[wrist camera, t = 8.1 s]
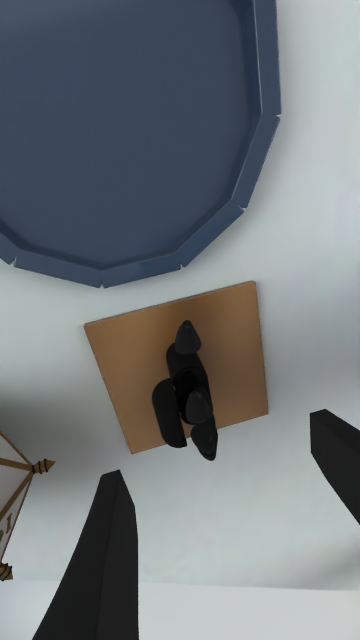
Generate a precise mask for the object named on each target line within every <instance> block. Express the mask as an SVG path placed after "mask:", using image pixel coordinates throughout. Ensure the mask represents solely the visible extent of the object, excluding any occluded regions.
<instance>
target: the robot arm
mask: <svg viewBox="0 0 360 640" xmlns="http://www.w3.org/2000/svg"><path fill="white" fill-rule="evenodd" d="M310 439H311V454H312V455H313V457H314V459H315V461H316V462H317V464H318V466H319V468H320V469H321V471H322V473H323V474H324V476H325V478H326V479H327V481H328V482H329V484H330V485H331V486H332V488H333V489H334V491H335V492H336V493H337V495H338V496H339V497H340V499H341V500H342V501H343V503H344V504H345V506H346V507H347V508H348V510H349V511H350V512H351V514H352V515H353V516H354V518H355V519H356V520H357V522H358V523H359V525H360V430H358V429H356V428H355V427H353V426H352V425H350V424H348V423H347V422H345V421H344V420H342V419H341V418H339V417H337V416H336V415H334V414H333V413H331V412H329V411H328V410H326V409H323V410H320V411H316V412H313V413H310ZM32 640H139V631H138V534H137V523H136V514H135V506H134V503H133V501H132V498H131V496H130V494H129V491H128V489H127V486H126V484H125V481H124V479H123V477H122V474H121V472H120V469H119V470H116V471H113V472H109V473H106V474H103V475H102V476H101V478H100V481H99V484H98V487H97V491H96V494H95V497H94V500H93V503H92V506H91V509H90V511H89V514H88V517H87V520H86V522H85V525H84V528H83V530H82V533H81V535H80V538H79V541H78V543H77V546H76V548H75V551H74V553H73V555H72V558H71V560H70V562H69V564H68V567H67V569H66V571H65V574H64V576H63V578H62V581H61V583H60V585H59V587H58V589H57V591H56V593H55V596H54V598H53V600H52V602H51V604H50V606H49V608H48V610H47V612H46V614H45V616H44V618H43V620H42V622H41V624H40V626H39V628H38V629H37V631H36V633H35V635H34V637H33V639H32Z"/></svg>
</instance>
